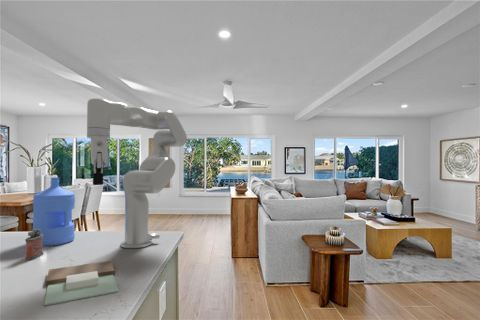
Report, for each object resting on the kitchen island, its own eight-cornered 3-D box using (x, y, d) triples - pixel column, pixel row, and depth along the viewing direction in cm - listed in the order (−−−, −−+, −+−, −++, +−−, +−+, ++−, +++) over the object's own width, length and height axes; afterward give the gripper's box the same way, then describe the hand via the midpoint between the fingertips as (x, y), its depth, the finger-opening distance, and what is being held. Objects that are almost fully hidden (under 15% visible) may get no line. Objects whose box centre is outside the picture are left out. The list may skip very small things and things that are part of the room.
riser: (111, 265, 101) (111, 260, 101) (114, 275, 92) (114, 270, 92) (48, 274, 93) (49, 269, 93) (46, 286, 84) (46, 280, 84)
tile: (97, 276, 90) (97, 271, 90) (98, 284, 85) (98, 277, 85) (66, 282, 86) (66, 275, 86) (66, 289, 81) (66, 283, 81)
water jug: (22, 245, 124) (23, 178, 124) (54, 236, 139) (54, 176, 139) (54, 247, 120) (55, 179, 120) (82, 238, 136) (83, 177, 136)
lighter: (36, 253, 113) (36, 227, 113) (45, 253, 113) (45, 227, 113) (22, 260, 105) (22, 232, 105) (32, 260, 105) (32, 232, 105)
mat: (113, 275, 92) (113, 274, 92) (118, 291, 81) (118, 290, 81) (48, 286, 84) (48, 284, 84) (43, 306, 72) (43, 304, 72)
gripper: (112, 132, 102) (111, 186, 102) (108, 135, 115) (107, 183, 115) (87, 131, 98) (86, 186, 98) (86, 134, 111) (85, 183, 111)
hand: (97, 184), depth 106 cm, fingers closed
